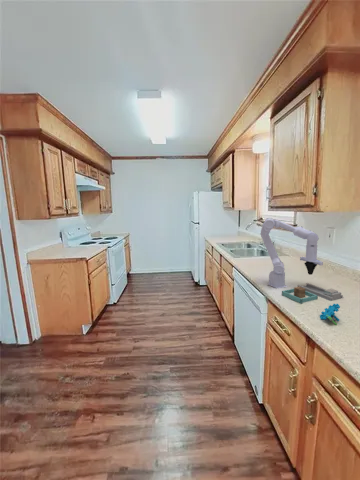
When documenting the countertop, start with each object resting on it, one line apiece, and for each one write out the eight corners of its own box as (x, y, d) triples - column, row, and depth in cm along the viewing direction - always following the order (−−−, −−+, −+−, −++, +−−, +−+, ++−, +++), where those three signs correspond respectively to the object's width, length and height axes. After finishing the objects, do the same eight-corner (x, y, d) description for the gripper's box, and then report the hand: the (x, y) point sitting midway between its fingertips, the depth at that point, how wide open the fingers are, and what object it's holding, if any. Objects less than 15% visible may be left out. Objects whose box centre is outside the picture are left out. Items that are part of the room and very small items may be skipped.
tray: (281, 295, 136) (281, 291, 136) (297, 291, 140) (297, 287, 140) (301, 304, 124) (301, 299, 123) (317, 300, 128) (317, 295, 127)
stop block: (293, 296, 133) (294, 287, 133) (299, 294, 135) (299, 286, 134) (299, 298, 130) (299, 289, 129) (305, 297, 131) (305, 288, 130)
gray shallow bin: (296, 288, 146) (296, 283, 145) (308, 286, 149) (308, 280, 148) (330, 302, 125) (330, 295, 124) (343, 298, 128) (344, 292, 127)
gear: (319, 309, 114) (338, 299, 108) (329, 319, 112) (348, 309, 106) (316, 321, 105) (336, 311, 99) (327, 332, 104) (348, 322, 98)
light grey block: (324, 296, 131) (324, 290, 130) (331, 294, 132) (331, 288, 132) (330, 298, 127) (331, 292, 126) (337, 297, 129) (338, 290, 128)
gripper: (327, 253, 135) (326, 276, 137) (306, 249, 149) (305, 270, 151) (318, 255, 133) (317, 278, 135) (297, 250, 146) (296, 271, 149)
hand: (310, 274), depth 143 cm, fingers closed
